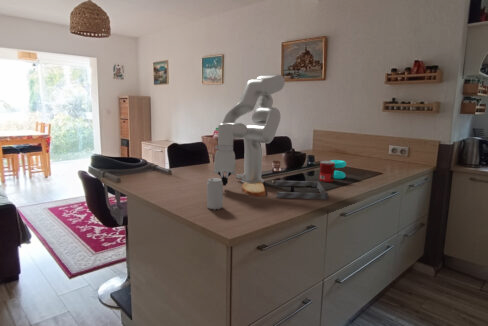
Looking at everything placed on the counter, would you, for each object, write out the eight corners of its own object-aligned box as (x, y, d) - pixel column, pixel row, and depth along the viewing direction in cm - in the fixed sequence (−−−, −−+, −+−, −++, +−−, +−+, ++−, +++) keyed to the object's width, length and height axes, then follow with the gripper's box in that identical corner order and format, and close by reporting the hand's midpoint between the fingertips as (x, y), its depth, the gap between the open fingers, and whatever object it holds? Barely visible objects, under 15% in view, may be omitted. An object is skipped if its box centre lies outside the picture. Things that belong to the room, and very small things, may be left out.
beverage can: (207, 205, 137) (207, 177, 135) (222, 205, 138) (222, 177, 136) (206, 210, 131) (206, 181, 129) (222, 210, 132) (223, 181, 129)
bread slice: (261, 198, 151) (261, 190, 150) (230, 191, 161) (230, 184, 160) (279, 190, 165) (280, 183, 165) (250, 185, 175) (250, 178, 175)
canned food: (334, 182, 182) (335, 163, 180) (319, 181, 184) (320, 162, 182) (333, 179, 189) (334, 161, 188) (319, 178, 191) (320, 160, 189)
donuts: (347, 160, 197) (345, 163, 188) (346, 176, 199) (344, 179, 190) (330, 159, 201) (328, 161, 191) (329, 175, 202) (327, 178, 193)
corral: (276, 197, 151) (276, 192, 150) (274, 185, 175) (274, 180, 174) (327, 199, 149) (327, 194, 149) (318, 186, 173) (318, 181, 173)
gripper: (209, 148, 157) (208, 186, 159) (240, 150, 156) (238, 187, 159) (211, 147, 164) (210, 182, 167) (241, 148, 163) (239, 184, 166)
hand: (224, 185), depth 163 cm, fingers closed
